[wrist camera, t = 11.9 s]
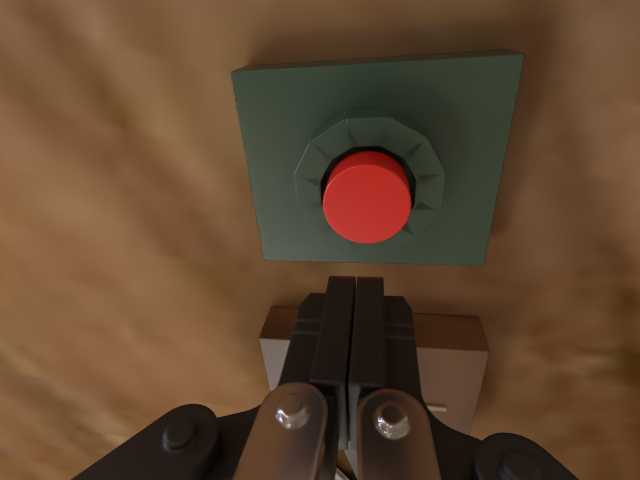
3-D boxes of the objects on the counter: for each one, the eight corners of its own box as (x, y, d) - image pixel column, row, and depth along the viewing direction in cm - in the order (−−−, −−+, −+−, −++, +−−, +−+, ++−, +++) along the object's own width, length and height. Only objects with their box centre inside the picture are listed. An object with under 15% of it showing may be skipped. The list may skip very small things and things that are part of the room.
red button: (330, 224, 18) (325, 243, 16) (325, 151, 16) (319, 165, 14) (406, 224, 17) (408, 244, 16) (411, 149, 15) (414, 163, 14)
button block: (273, 240, 23) (254, 279, 20) (245, 65, 18) (214, 77, 15) (474, 243, 21) (492, 287, 18) (508, 48, 16) (542, 58, 13)
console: (288, 403, 32) (279, 439, 29) (270, 306, 26) (257, 340, 23) (457, 418, 29) (465, 458, 27) (478, 316, 24) (490, 354, 21)
